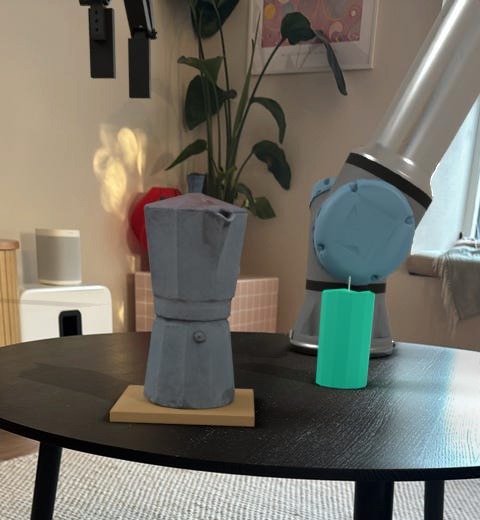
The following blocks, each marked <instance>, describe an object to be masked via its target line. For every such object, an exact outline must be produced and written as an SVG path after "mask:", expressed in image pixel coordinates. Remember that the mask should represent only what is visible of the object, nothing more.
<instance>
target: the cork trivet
mask: <svg viewBox="0 0 480 520" xmlns="http://www.w3.org/2000/svg"><path fill="white" fill-rule="evenodd" d="M143 393H144V385H140V384H139V385H138V384H129V385H128V386H127V388H126V389H125V390H124V391H123V393H122V394H121V396H120V397H119V398H118V400H117V401H116V403H115V404H114V405H113V406H112V408H111V409H110V411H109V422H111V423H137V424H160V425H161V424H163V425H165V424H166V425H190V426H191V425H192V426H193V425H194V426H195V425H197V426H218V427H219V426H221V427H222V426H223V427H249V428H251V427H253V428H254V427H255V398H254V397H255V396H254V389H253V388H235V399H234V401H233V402H232V403H230V404H228V405H226V406H223V407H219V408H211V409H179V408H172V407H166V406H162V405H158V404H155V403H153V402H151V401H150V400H148V399H146V398H145V397H144V395H143Z"/></svg>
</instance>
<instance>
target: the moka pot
mask: <svg viewBox="0 0 480 520" xmlns="http://www.w3.org/2000/svg"><path fill="white" fill-rule="evenodd" d="M205 178H206V177H205V175H204V174H202V173H199V172H195V171H194V172H191V173H188V174H187V175H186V181H187V186H188V192H187V193H184V194H181V195H177V196H172V197H169V198H168V197H167V196H164V195H160V196H159V199H158V200H157V201H154V202H150V203H146V204H145V205H144V206H143V213H144V222H145V233H146V243H147V254H148V262H149V270H150V271H149V273H150V282H151V291H152V295H153V313H154V315H155V317H154V319H153V321H152V325H151V333H150V340H149V341H150V342H149V350H148V355H147V356H148V357H147V363H146V369H145V377H144V385H143V386H144V393H143V395H144V397H145V398H146V399H148V400H150V401H151V402H153V403H155V404H158V405H162V406H166V407H172V408H179V409H211V408H219V407H223V406H226V405H228V404H230V403H232V402H233V401H234V399H235V389H236V385H235V374H234V364H233V363H234V362H233V351H232V349H233V348H232V338H231V337H232V336H231V326H230V325H231V324H230V320H229V319H228V318H230V317H231V313H232V300H233V299H234V298H235V296H236V290H237V285H238V280H239V279H238V278H239V272H240V267H241V258H242V253H243V246H244V241H245V235H246V229H247V222H248V217H249V213H248V210H247V209H246V208H243V207H241V206H237V205H236V204H235V205H234V204H232V203H229V202H226V201H224V200H221V199H218V198H215V197H212V196H210V195H206V194H204V193H203V188H204V183H205Z"/></svg>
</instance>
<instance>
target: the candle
mask: <svg viewBox="0 0 480 520" xmlns="http://www.w3.org/2000/svg"><path fill="white" fill-rule="evenodd" d="M350 279H351V277H349V288H348V289H332V290H324V291H323V292H322V302H321V316H320V330H319V344H318V355H317V359H316V373H315V383H316V384H318V385H319V386H322V387H327V388H332V389H333V388H334V389H344V390H345V389H346V390H347V389H348V390H349V389H361V388H362V389H363V388H366V386H367V384H368V374H369V364H370V357H369V354H370V343H371V333H372V322H373V312H374V301H375V294H374V293H372V292H370V291H364V292H356V291H352V290H350Z"/></svg>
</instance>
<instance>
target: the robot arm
mask: <svg viewBox="0 0 480 520" xmlns="http://www.w3.org/2000/svg"><path fill="white" fill-rule="evenodd" d="M122 2H123V6H124V10H125V14H126V20H127V25H128V29H129V35H130V37H127V53H128V54H127V59H128V60H127V62H128V65H127V66H128V67H127V68H128V99H141V100H142V99H143V100H144V99H145V100H146V99H147V100H148V99H152V53H151V52H152V51H151V50H152V47H151V42H152V41H157V40H158V38H159V32H158V31H157V29H156V22H155V14H154V5H153V0H123V1H122ZM111 3H112V0H78V4H79V6H80V7H88V8H87V15H88V42H89V43H88V45H89V69H90V70H89V73H90V78H91V79H99V80H100V79H101V80H102V79H105V80H106V79H107V80H108V79H109V80H111V79H113V80H114V79H117V65H116V64H117V61H116V60H117V59H116V57H117V56H116V23H115V9H114V8H113V7H110V6H111ZM479 97H480V0H445V2H444V4H443V6H442V8H441V9H440V11H439V13H438V15H437V17H436V18H435V21H434V22H433V24H432V26H431V28H430V30H429V32H428V34H427V35H426V38H424V41H423V43H422V44H421V46H420V48H419V50H418V52H417V54H416V56H415V58H414V59H413V61H412V63H411V65H410V67H409V69H408V71H407V72H406V74H405V77H404V78H403V80H402V82H401V84H400V85H399V87H398V89H397V91H396V93H395V95H394V96H393V98H392V101H391V102H390V104H389V106H388V108H387V109H386V112H385V113H384V115H383V117H382V119H381V120H380V123H379V125H378V126H377V128H376V130H375V131H374V134H373V136H372V137H371V140H370V141H369V142H368V143H367V144H364V145H363V146H359V147H356V148H353V149H351V150H350V152H349V154H348V156H347V158H346V160H345V162H344V163H343V164H342V166H341V168H340V171H339V172H338V173H337V175H336V176H332V177H325V178H322V179H320V180H319V181H318V180H317V182H316V183H315V184H314V185H313V187H312V190H311V196H310V200H309V202H308V203H309V205H308V206H309V226H308V227H309V228H308V242H307V243H308V244H307V256H306V257H307V260H306V274H305V276H306V277H305V290H304V297H303V300H302V303H301V306H300V308H299V311H298V314H297V317H296V319H295V321H294V324H293V327H292V328H290V330H289V335H288V337H289V348H290V349H291V350H292V351H295V352H298V353H301V354H302V353H303V354H306V355H307V354H308V355H313V356H318V344H319V330H320V316H321V302H322V292H323V291H324V290H332V289H348V288H349V277H351V279H350V290H352V291H356V292H364V291H370V292H372V293H374V294H375V301H374V312H373V322H372V333H371V343H370V354H369V358H380V357H386V356H390V355H391V354H392V353H393V351H394V350H393V348H395V347H396V343H395V342H394V337H393V336H394V335H393V331H392V327H391V326H392V325H391V322H390V317H389V312H388V308H387V307H388V306H387V302H386V293H387V282H388V277H389V276H391V275H392V274H394V273H395V272H396V271H397V270H398V269H399V268H400V267H401V266H402V265H403V263H404V262H405V260H407V258H408V256H409V254H410V252H411V248H412V246H413V244H414V237H415V234H416V230H417V229H418V226H419V225H420V223H421V221H422V220H423V218H424V217H425V214H426V213H427V211H428V210H429V207H430V206H431V204H432V203H433V201H434V199H435V198H434V192H433V187H432V178H433V176H434V174H435V173H436V172H437V169H438V167H439V166H440V165H441V162H442V160H443V159H444V157H445V155H446V154H447V151H449V148H450V146H451V145H452V143H453V141H454V139H455V138H456V136H457V134H458V132H459V131H460V129H461V127H462V126H463V124H464V122H465V120H466V119H467V117H468V115H469V114H470V112H471V110H472V108H473V107H474V106H475V105H474V104H475V103H476V101H477V100H478V98H479Z"/></svg>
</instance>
